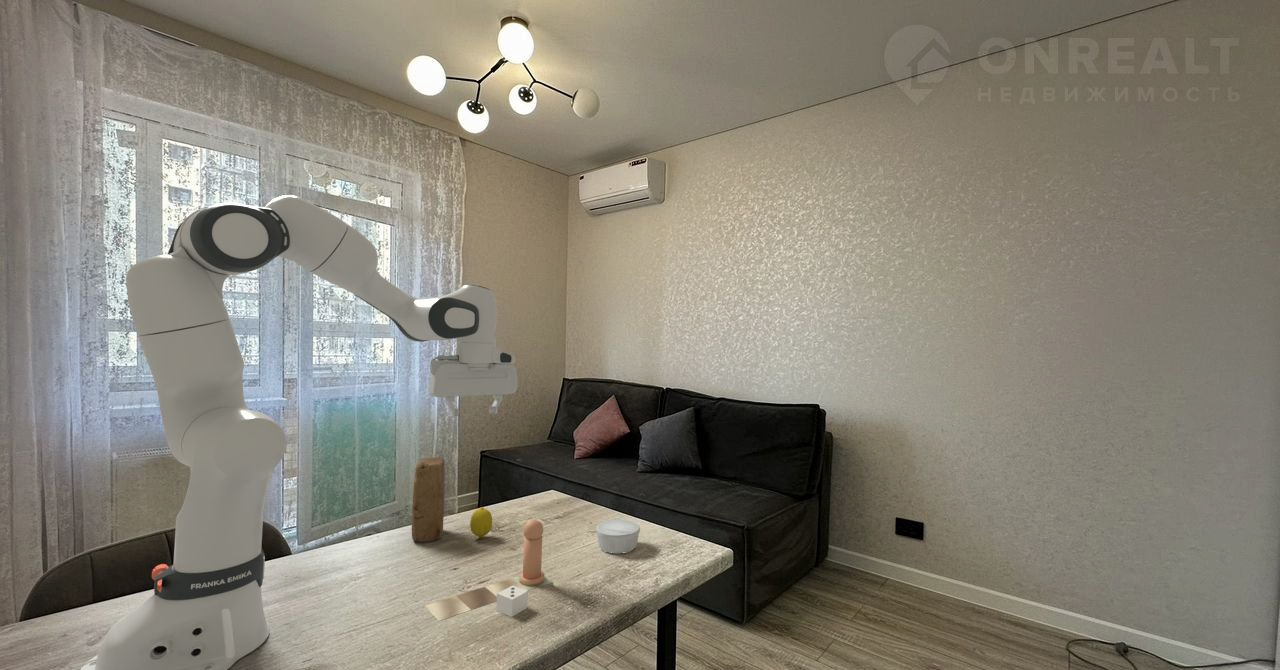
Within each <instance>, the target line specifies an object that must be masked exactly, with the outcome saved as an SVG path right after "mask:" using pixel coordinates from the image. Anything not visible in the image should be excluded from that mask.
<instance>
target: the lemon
mask: <svg viewBox="0 0 1280 670" xmlns="http://www.w3.org/2000/svg"><path fill="white" fill-rule="evenodd" d="M469 525H470V526H469V527H470V531H471V533H472V534H473V535H474V536H476V537H478V538H479V539H483V538H484V537H485V536H487V535H488V534H489V533H490V531H491V530H492V528H493V515H492V514H491V511H490V510H489V509H487V508H485V507H482V506H481V507H479V508H478V509H476V510H475V511H474V512H473V513H472V515H471V517H470V522H469Z"/></svg>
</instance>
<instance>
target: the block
mask: <svg viewBox="0 0 1280 670" xmlns="http://www.w3.org/2000/svg"><path fill="white" fill-rule="evenodd" d="M445 473H446V472H445V459H444V458H442V457H428V458H421V459H420V460H419V461H418V462H417V464H416V467H415V471H414V479H413V490H412V492H413V493H412V502H411V503H412V508H411V538H412V540H413V541H415V542H418V541H419V542H422V543H425V542H426V543H427V542H433V541H437V540H438V539H441V538H442V536H443V531H444V518H445V517H444V516H445V515H444V513H445V486H446V484H445V482H446V481H445V480H446V479H445V478H446V477H445V475H446V474H445ZM419 542H418V543H419Z"/></svg>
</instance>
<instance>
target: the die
mask: <svg viewBox="0 0 1280 670" xmlns="http://www.w3.org/2000/svg"><path fill="white" fill-rule="evenodd" d="M528 593H529V591H526V590H524V589H521V588H518V587H516V586H511V587H509V588H507V589H505V590H503V591H501V592H499V593H497V601H496V605H495V606H496V611H497V612H499V613H501V614H503V615H506V616H509V617H514V616H515V615H518V614H519V613H521V612H522V611H524V610H526V609H527V608H528V595H529V594H528Z"/></svg>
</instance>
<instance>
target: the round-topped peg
mask: <svg viewBox="0 0 1280 670" xmlns="http://www.w3.org/2000/svg"><path fill="white" fill-rule="evenodd" d="M522 532H523V536H524V537H523V556H522V557H523V559H522V560H523V561H522V562H523V563H522V572H521V573H520V574H519V575H518V576H519V582H520V584H522V585H525V586H535V585H539V584H541V583H542V582H544V576H545V573H544V572H543V571H542V561H543V560H542V556H543V533H544V526H543V524H542V522H541V521H540V520H537V519H530V520H529V521H527V522H526V523H525V525H524V526H523V531H522Z"/></svg>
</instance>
